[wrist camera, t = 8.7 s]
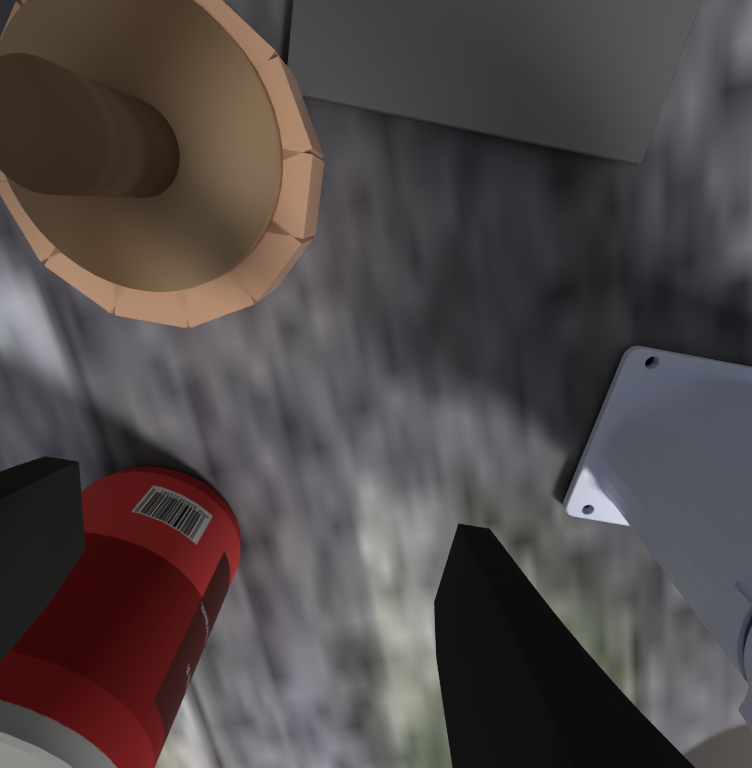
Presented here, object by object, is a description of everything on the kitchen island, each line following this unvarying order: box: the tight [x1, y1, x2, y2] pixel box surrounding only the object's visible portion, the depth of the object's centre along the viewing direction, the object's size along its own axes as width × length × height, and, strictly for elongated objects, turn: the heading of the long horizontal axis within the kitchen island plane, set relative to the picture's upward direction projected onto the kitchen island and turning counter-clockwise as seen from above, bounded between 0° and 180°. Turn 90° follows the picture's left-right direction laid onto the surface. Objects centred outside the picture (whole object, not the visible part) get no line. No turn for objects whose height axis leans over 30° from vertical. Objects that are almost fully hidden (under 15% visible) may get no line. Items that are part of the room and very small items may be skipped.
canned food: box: [0, 466, 241, 768], centre depth 17 cm, size 8×8×11 cm
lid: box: [0, 0, 283, 292], centre depth 11 cm, size 8×8×4 cm
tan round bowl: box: [0, 0, 325, 328], centre depth 14 cm, size 9×9×3 cm
